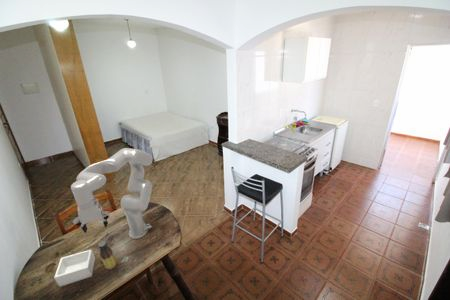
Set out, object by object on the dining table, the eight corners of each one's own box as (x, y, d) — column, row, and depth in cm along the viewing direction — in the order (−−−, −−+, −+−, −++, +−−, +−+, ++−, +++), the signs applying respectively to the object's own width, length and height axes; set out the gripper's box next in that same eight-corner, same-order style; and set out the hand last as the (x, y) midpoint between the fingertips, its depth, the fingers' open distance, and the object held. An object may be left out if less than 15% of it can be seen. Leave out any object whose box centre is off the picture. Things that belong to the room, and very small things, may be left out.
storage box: (95, 258, 136) (91, 249, 132) (91, 276, 125) (87, 267, 121) (65, 266, 131) (60, 257, 127) (59, 287, 120) (54, 277, 116)
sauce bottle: (108, 261, 133) (99, 238, 124) (118, 260, 133) (110, 237, 125) (103, 271, 127) (93, 248, 118) (114, 270, 128) (105, 247, 119)
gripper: (106, 194, 115) (114, 219, 122) (68, 202, 110) (79, 228, 117) (104, 203, 109) (113, 228, 116) (64, 212, 103) (76, 238, 111)
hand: (96, 228), depth 116 cm, fingers open, 9 cm apart
